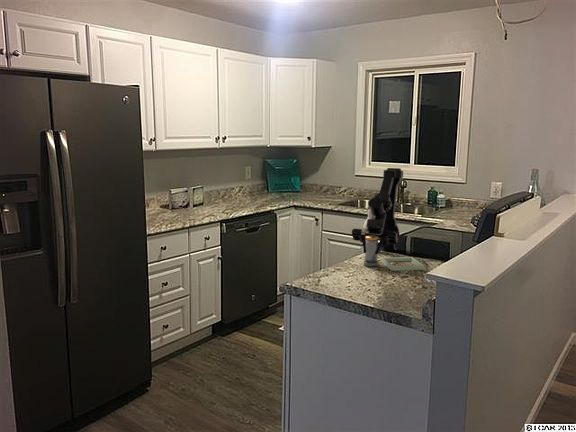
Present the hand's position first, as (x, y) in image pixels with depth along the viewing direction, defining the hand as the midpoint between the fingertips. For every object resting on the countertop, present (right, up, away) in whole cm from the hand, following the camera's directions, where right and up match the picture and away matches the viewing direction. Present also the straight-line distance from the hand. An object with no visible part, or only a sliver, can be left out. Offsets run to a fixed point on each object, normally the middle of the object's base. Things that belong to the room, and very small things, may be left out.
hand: (370, 253), depth 191 cm
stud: (+1, -6, +2) cm, 7 cm away
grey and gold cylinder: (+1, -5, +2) cm, 6 cm away
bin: (+14, -6, +3) cm, 15 cm away
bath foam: (+5, -2, +29) cm, 29 cm away
